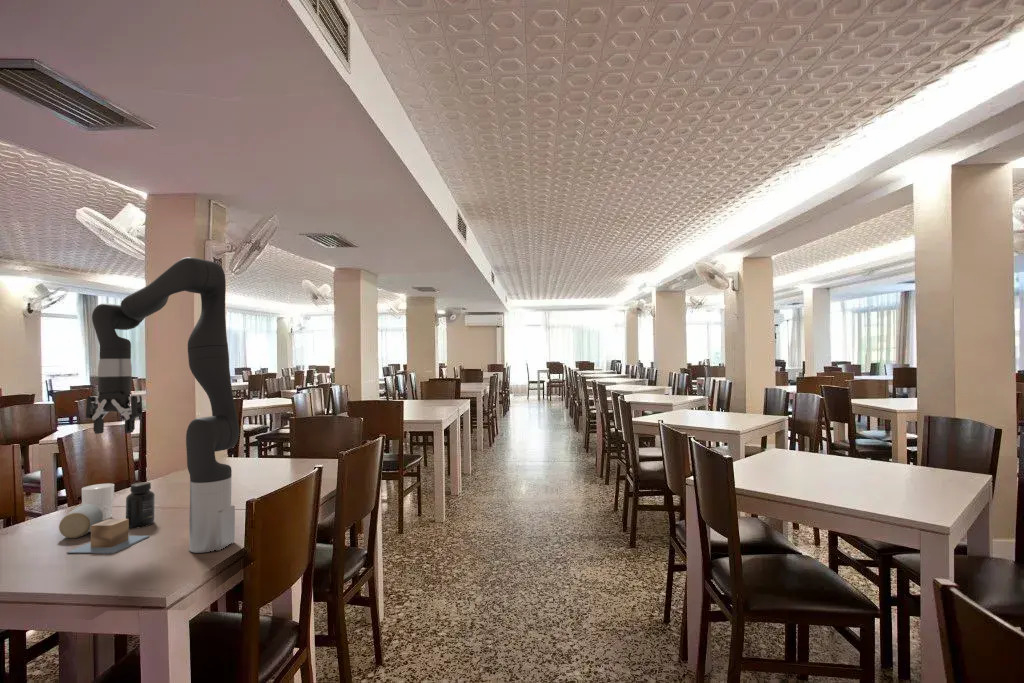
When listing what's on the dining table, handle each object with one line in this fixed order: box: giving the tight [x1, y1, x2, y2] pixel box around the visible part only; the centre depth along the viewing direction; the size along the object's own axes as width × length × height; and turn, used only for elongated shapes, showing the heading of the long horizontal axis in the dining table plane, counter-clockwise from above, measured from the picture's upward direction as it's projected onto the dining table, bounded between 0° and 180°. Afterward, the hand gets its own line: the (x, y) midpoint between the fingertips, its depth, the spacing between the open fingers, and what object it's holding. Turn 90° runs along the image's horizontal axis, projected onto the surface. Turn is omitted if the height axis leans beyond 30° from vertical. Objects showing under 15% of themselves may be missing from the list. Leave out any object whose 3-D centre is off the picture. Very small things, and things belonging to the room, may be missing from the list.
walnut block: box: [90, 518, 130, 547], centre depth 133 cm, size 6×6×6 cm
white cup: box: [81, 483, 115, 521], centre depth 157 cm, size 8×8×10 cm
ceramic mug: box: [58, 504, 105, 539], centre depth 142 cm, size 11×8×8 cm
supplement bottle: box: [125, 481, 156, 529], centre depth 150 cm, size 7×7×12 cm
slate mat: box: [66, 535, 150, 554], centre depth 133 cm, size 12×12×1 cm
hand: (114, 433), depth 142 cm, fingers open, 8 cm apart
